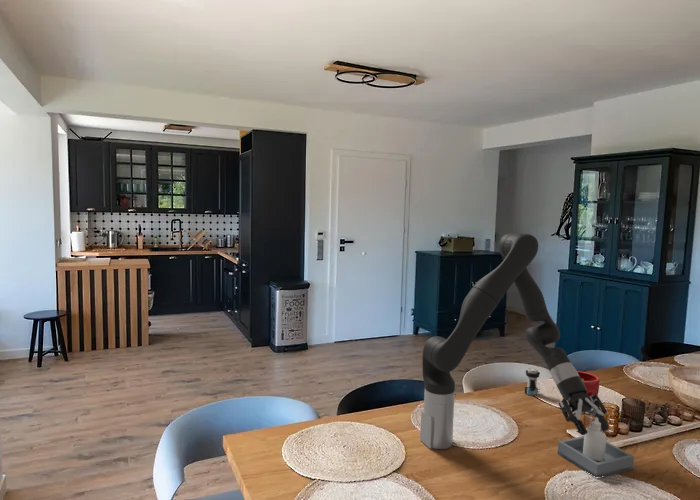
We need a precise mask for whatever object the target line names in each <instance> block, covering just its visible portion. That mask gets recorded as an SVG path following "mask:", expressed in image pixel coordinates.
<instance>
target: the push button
mask: <svg viewBox="0 0 700 500" xmlns="http://www.w3.org/2000/svg"><path fill="white" fill-rule="evenodd" d="M540 374H541V373H540V372H539V370H538V369H537V368H533V367H530V368H528V369H526V370H525V375H526V377H527V386H524V394H525V395H527V396H536V395H538V394H539V393H541V389H539V387H538V386H537V384H538V383H537V378H540Z"/></svg>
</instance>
